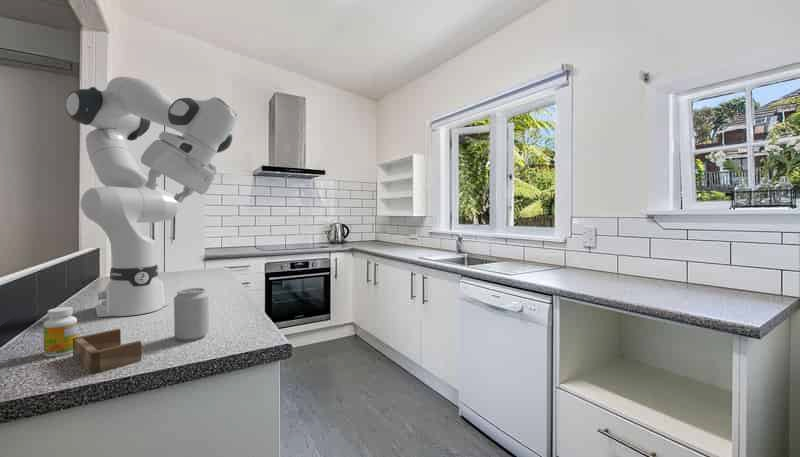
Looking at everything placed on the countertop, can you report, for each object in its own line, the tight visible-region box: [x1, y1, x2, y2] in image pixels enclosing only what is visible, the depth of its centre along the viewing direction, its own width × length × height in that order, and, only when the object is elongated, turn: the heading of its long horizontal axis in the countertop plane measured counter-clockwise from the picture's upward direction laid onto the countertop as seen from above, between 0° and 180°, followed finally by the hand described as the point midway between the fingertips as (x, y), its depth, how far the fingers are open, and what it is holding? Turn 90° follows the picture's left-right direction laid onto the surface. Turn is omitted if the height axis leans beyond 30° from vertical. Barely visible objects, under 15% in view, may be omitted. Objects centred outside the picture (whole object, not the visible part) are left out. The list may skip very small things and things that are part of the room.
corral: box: [72, 328, 142, 375], centre depth 75 cm, size 14×8×4 cm, turn 54°
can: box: [173, 287, 210, 342], centre depth 88 cm, size 8×8×12 cm
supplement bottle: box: [43, 306, 79, 357], centre depth 77 cm, size 5×5×10 cm
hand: (163, 194), depth 92 cm, fingers open, 8 cm apart
